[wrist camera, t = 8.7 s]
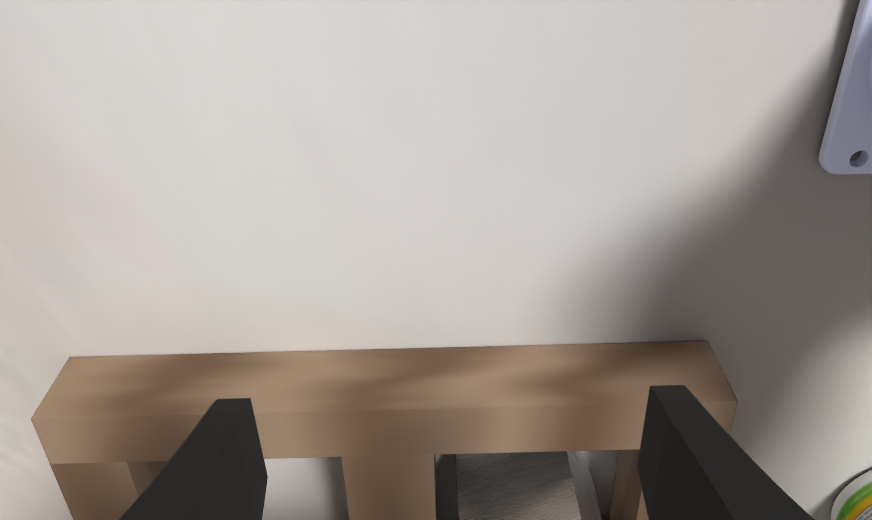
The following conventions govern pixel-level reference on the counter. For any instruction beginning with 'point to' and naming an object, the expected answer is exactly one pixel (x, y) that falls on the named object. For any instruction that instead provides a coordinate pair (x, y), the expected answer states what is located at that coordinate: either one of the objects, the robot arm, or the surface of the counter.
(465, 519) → the plug
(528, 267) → the counter surface
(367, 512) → the socket board
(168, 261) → the counter surface
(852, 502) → the supplement bottle
